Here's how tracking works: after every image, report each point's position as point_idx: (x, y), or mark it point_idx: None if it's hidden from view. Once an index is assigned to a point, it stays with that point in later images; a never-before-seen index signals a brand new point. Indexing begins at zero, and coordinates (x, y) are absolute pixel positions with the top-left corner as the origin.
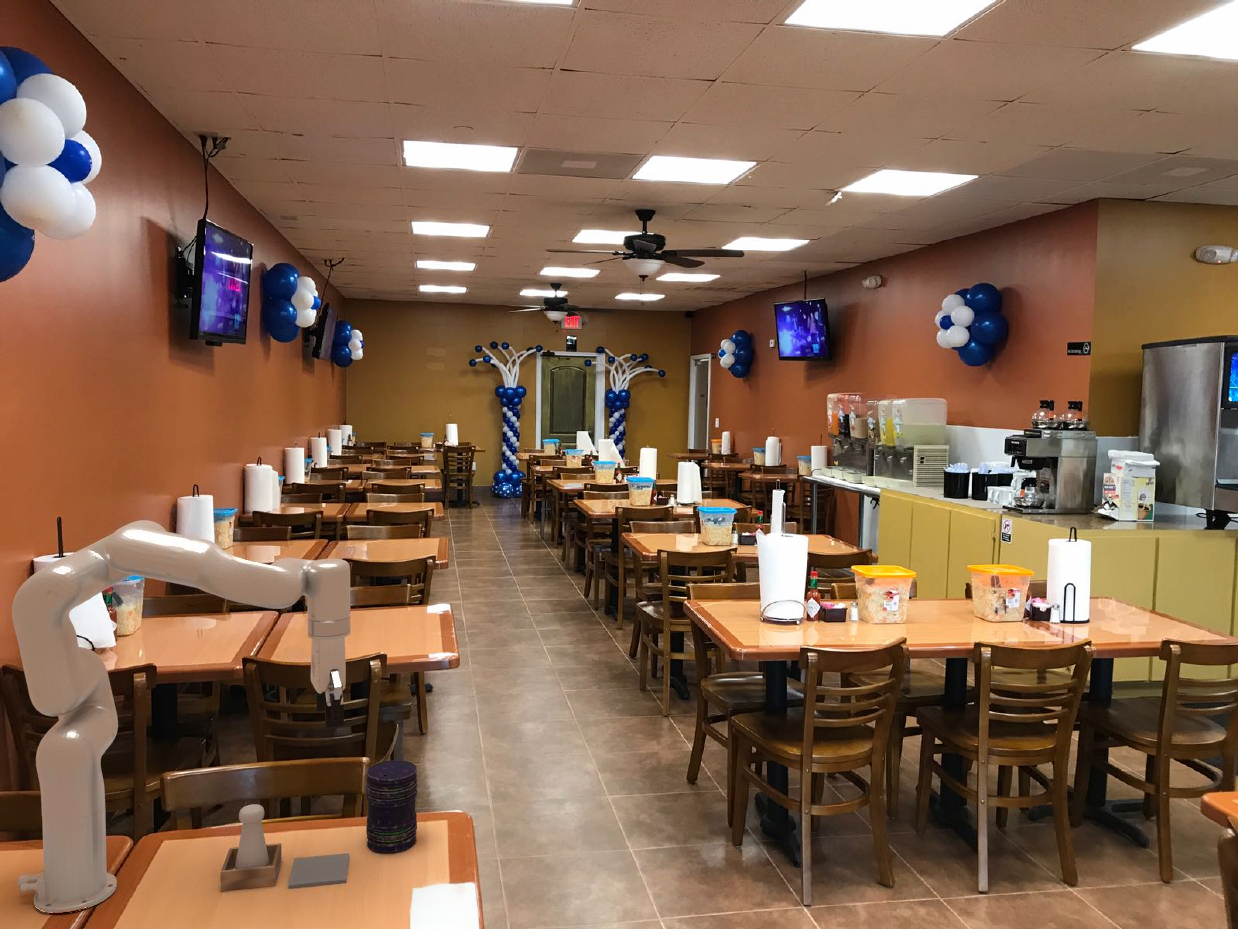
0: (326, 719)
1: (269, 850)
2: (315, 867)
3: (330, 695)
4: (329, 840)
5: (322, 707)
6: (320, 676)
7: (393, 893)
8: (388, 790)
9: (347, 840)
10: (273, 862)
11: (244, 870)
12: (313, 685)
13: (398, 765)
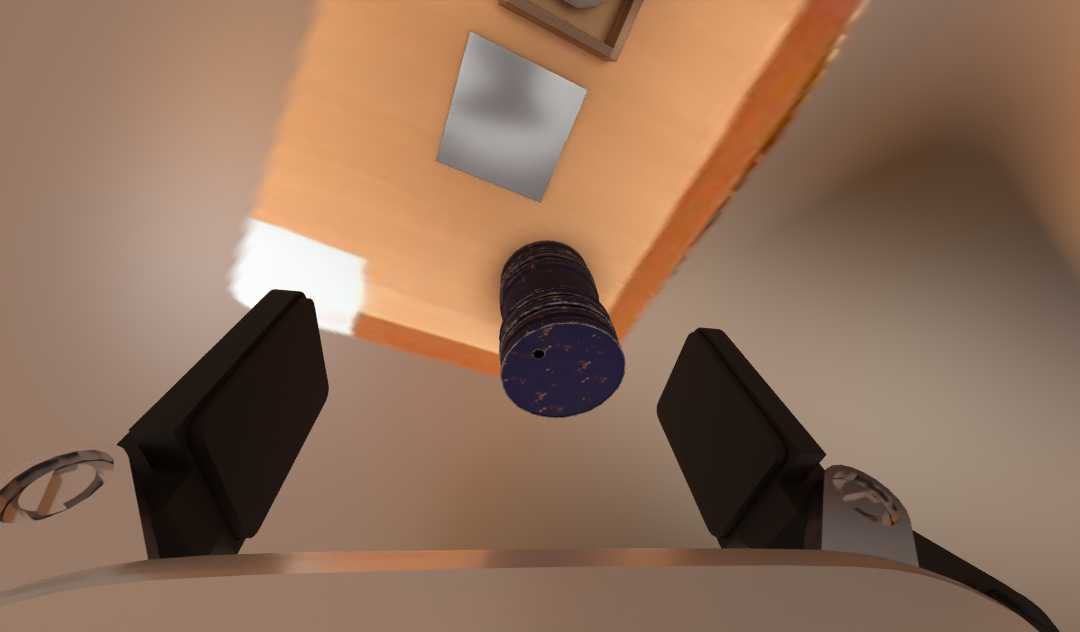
0: (242, 330)
1: (620, 26)
2: (519, 120)
3: (703, 478)
4: (627, 188)
5: (686, 368)
6: None
7: (358, 224)
8: (507, 335)
9: (603, 219)
10: (526, 2)
11: None
12: (607, 584)
13: (581, 391)
